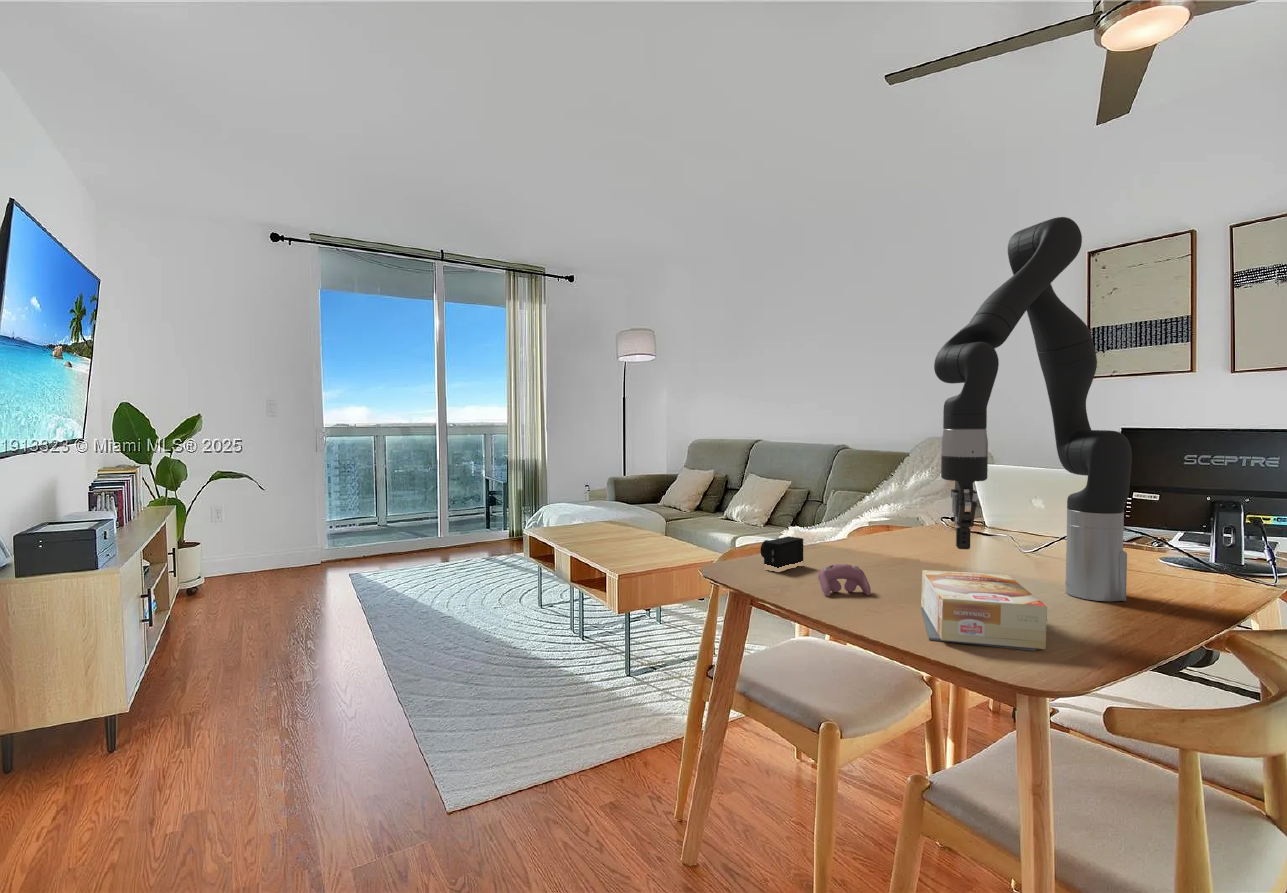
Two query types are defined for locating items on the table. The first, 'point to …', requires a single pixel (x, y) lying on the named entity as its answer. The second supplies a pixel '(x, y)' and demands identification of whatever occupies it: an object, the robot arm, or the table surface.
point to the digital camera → (782, 551)
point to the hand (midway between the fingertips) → (962, 548)
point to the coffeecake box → (983, 609)
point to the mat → (934, 636)
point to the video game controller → (843, 571)
